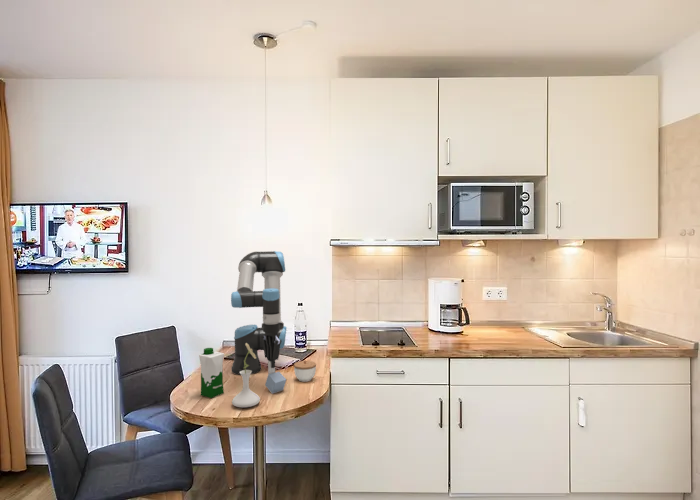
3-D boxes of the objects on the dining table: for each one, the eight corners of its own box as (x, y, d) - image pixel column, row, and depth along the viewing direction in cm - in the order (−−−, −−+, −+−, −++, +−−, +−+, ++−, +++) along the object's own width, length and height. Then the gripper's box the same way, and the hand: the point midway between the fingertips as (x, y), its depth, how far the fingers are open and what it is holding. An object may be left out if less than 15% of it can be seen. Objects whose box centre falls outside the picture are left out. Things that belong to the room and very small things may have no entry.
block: (265, 385, 187) (268, 374, 185) (276, 381, 191) (279, 371, 189) (272, 393, 183) (275, 382, 181) (283, 390, 187) (286, 379, 185)
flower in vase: (258, 409, 165) (257, 347, 165) (229, 410, 164) (228, 348, 164) (262, 397, 178) (261, 340, 178) (235, 398, 177) (234, 340, 177)
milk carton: (213, 389, 189) (212, 346, 188) (227, 393, 184) (226, 348, 183) (197, 395, 181) (196, 350, 181) (211, 399, 176) (210, 353, 176)
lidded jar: (312, 384, 195) (312, 364, 195) (291, 382, 197) (290, 363, 197) (318, 376, 205) (318, 358, 205) (298, 375, 207) (298, 356, 207)
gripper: (256, 321, 189) (256, 373, 190) (272, 325, 180) (272, 379, 180) (270, 319, 194) (270, 369, 195) (286, 323, 185) (286, 375, 185)
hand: (271, 374), depth 187 cm, fingers closed
